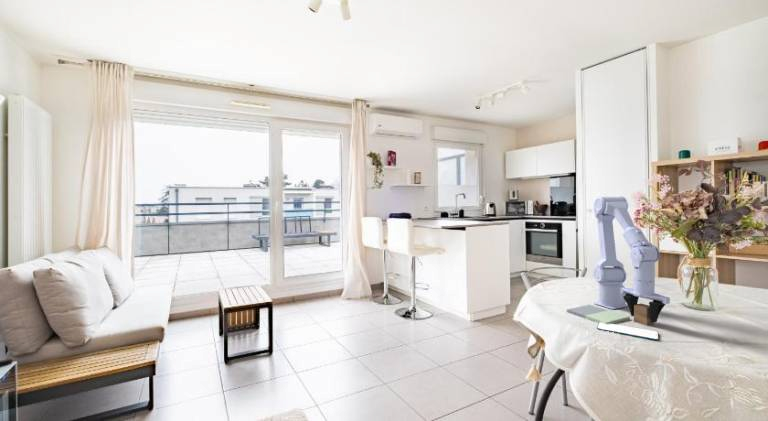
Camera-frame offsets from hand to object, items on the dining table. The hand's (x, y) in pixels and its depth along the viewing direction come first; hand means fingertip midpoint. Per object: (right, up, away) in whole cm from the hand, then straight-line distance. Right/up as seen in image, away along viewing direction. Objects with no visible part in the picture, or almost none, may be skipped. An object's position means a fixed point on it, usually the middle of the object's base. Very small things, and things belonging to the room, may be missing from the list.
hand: (643, 318), depth 118 cm
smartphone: (-11, -2, -7) cm, 13 cm away
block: (0, -2, 0) cm, 2 cm away
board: (-11, -1, +8) cm, 14 cm away
